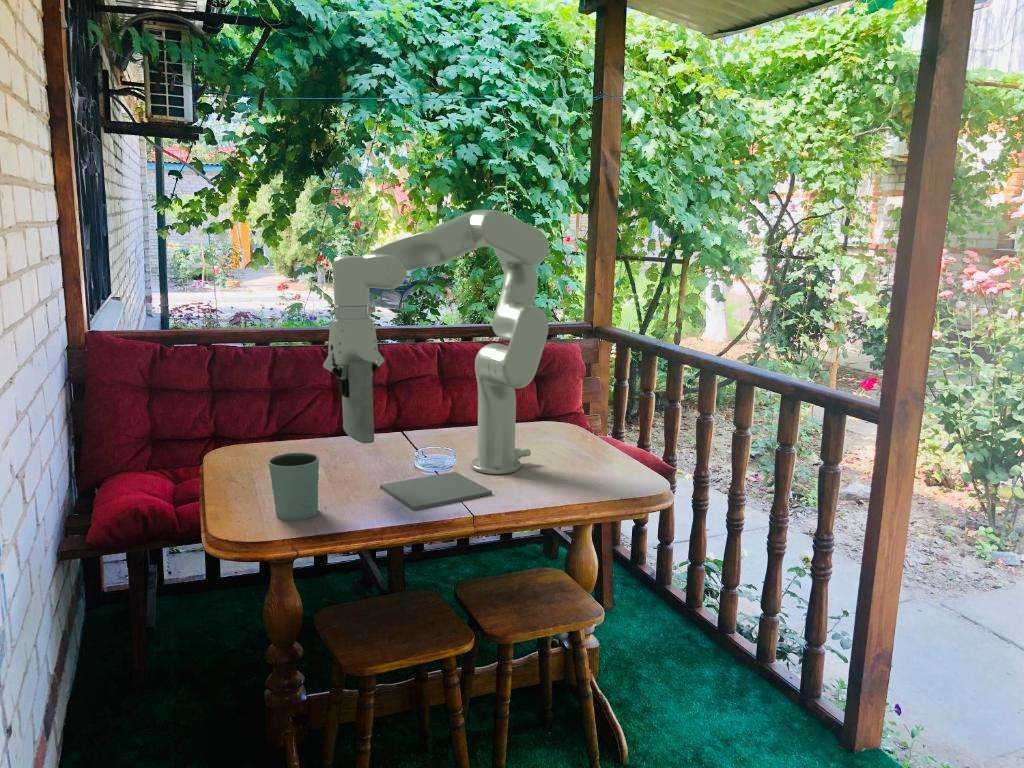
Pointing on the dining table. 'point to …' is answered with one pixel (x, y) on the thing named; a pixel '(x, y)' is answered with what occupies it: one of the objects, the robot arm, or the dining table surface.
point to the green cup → (295, 485)
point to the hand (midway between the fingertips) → (355, 394)
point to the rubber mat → (434, 490)
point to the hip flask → (359, 402)
